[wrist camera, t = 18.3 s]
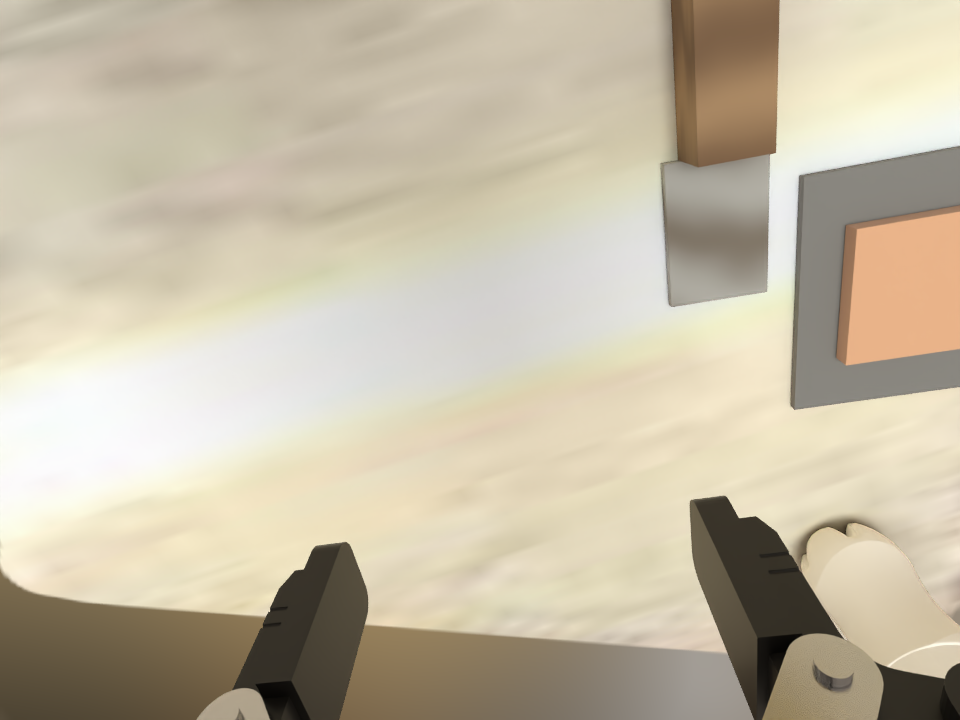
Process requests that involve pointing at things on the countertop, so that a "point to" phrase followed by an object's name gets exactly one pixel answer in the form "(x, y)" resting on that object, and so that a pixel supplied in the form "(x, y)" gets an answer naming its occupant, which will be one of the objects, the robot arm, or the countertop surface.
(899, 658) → the water bottle
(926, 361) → the slate mat
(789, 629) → the robot arm
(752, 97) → the board
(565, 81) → the countertop surface
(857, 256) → the tile
